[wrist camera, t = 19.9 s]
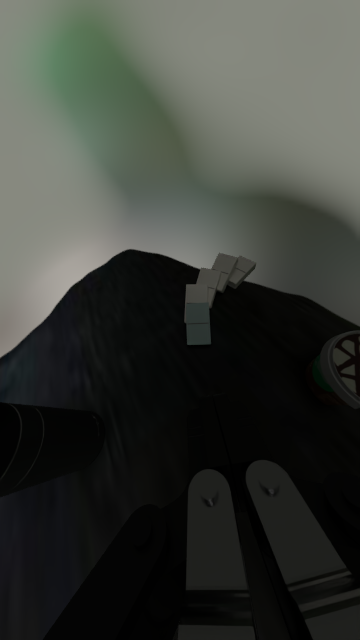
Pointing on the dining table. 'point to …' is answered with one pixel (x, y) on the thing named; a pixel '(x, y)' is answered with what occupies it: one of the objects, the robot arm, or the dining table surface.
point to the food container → (337, 371)
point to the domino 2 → (196, 294)
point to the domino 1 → (210, 282)
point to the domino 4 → (224, 269)
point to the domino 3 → (198, 323)
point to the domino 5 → (241, 271)
